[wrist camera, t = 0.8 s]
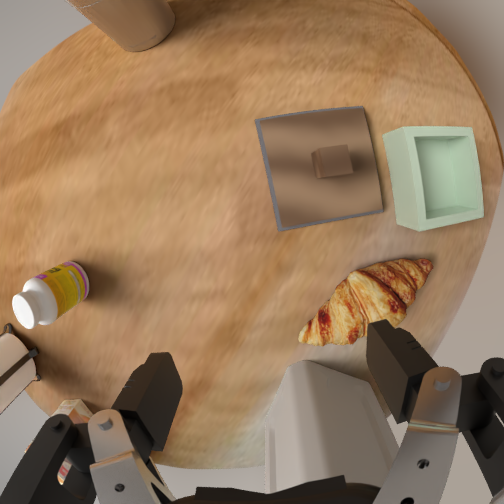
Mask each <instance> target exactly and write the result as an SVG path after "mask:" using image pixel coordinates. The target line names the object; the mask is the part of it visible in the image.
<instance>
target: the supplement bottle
mask: <svg viewBox="0 0 504 504" xmlns="http://www.w3.org/2000/svg"><path fill="white" fill-rule="evenodd" d="M88 292H89V280H88V277H87V275H86V273H85V271H84V270H83V268H82V267H81V266H80V265H78V264H77V263H75V262H72V261H68V262H65V263H62V264H60V265H58V266H56V267H54V268H52V269H50V270H48V271H45V272H43V273H41V274H39V275H37V276H35V277H33V278H31V279H30V280H28V281H27V282H26V283H25V285H24V288H23V292H20V293H18V294H17V295H15V296H14V298H13V302H12V303H13V310H14V313H15V315H16V317H17V319H18V321H19V322H20V323H21V324H22V325H23V326H24V327H25V328H27V329H32V328H33V327H35V326H36V325H38V323H39V324H42V325H49V324H51V323H53V322H54V321H55V320H57V319H58V318H59V317H61V316H62V315H63V314H65V313H66V312H67V311H69V310H70V309H72V308H73V307H74V306H76V305H77V304H79V303H80V302H81V301H83V300H84V299H85V298H86V297H87V295H88Z"/></svg>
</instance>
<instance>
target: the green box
mask: <svg viewBox="0 0 504 504" xmlns="http://www.w3.org/2000/svg"><path fill="white" fill-rule="evenodd" d="M382 137H383V141H384V146H385V151H386V156H387V161H388V166H389V172H390V177H391V184H392V190H393V197H394V205H395V213H396V222H397V224H398V225H401V226H404V227H407V228H410V229H413V230H416V231H424V230H428V229H433V228H438V227H442V226H447V225H451V224H456V223H460V222H465V221H469V220H473V219H478V218H482V217H484V209H483V195H482V185H481V176H480V168H479V162H478V155H477V150H476V144H475V139H474V134H473V130H472V127H453V126H409V127H401V128H398V129H396V130H393V131H390V132H388V133H385V134H383V135H382Z"/></svg>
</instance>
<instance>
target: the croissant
mask: <svg viewBox="0 0 504 504" xmlns="http://www.w3.org/2000/svg"><path fill="white" fill-rule="evenodd" d="M432 269H433V265H432V263H431V261H429V260H427V259H418V260H415V261H414V260H413V261H411V260H408V259H398V260H394V261H388V262H384V263H381V262H380V263H376V264H374V265H372V266H369V267H366V268H363V269H358V270H355V271H353V272H351V273H350V274H349V276H348V278H347V279H345V280H343V281H342V282H341V283H340V284H339V285H338V286H337V287H336V291H335V292H334V294H333V295H332V296H331V299H330V301H326V302H325V303H324V305H323V306H322V307H321V308H320V309H319V311H318V313H317V314H316V315H315V317H314V319H312V320H310V321H309V322H308V323H307V324H306V325H305V326H304V327H303V329H302V330H301V332H300V334H299V339H298V340H299V341H300V342H301V343H308V344H313V345H314V346H318V345H319V346H324V345H326V344H330V343H333V344H336V345H337V344H339V345H346V344H353V343H354V342H355V341H356V340H357V338H361V337H363V336H367V326H368V324H369V323H371V322H375V321H379V320H383V319H387V320H388V321H389V322H390V324H391V325H392V326H393V327H394V328H395V327H396V326H397V325H398V324H400V323H401V322H402V321H403V319H404V318H405V316H406V315H407V314H406V309H407V308H408V307H409V305H411V304H412V303H413V302H414V300H415V293H416V290H417V289H420V288H421V287H422V286H423V285H424V283H425V282H426V279H427V277H428V274H429V273H430V271H431V270H432Z"/></svg>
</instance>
